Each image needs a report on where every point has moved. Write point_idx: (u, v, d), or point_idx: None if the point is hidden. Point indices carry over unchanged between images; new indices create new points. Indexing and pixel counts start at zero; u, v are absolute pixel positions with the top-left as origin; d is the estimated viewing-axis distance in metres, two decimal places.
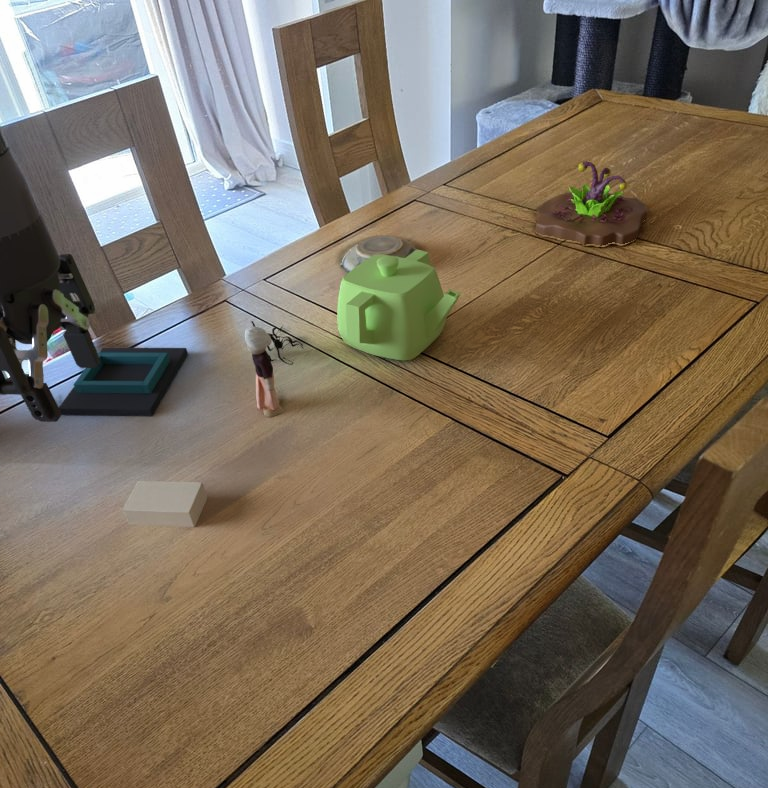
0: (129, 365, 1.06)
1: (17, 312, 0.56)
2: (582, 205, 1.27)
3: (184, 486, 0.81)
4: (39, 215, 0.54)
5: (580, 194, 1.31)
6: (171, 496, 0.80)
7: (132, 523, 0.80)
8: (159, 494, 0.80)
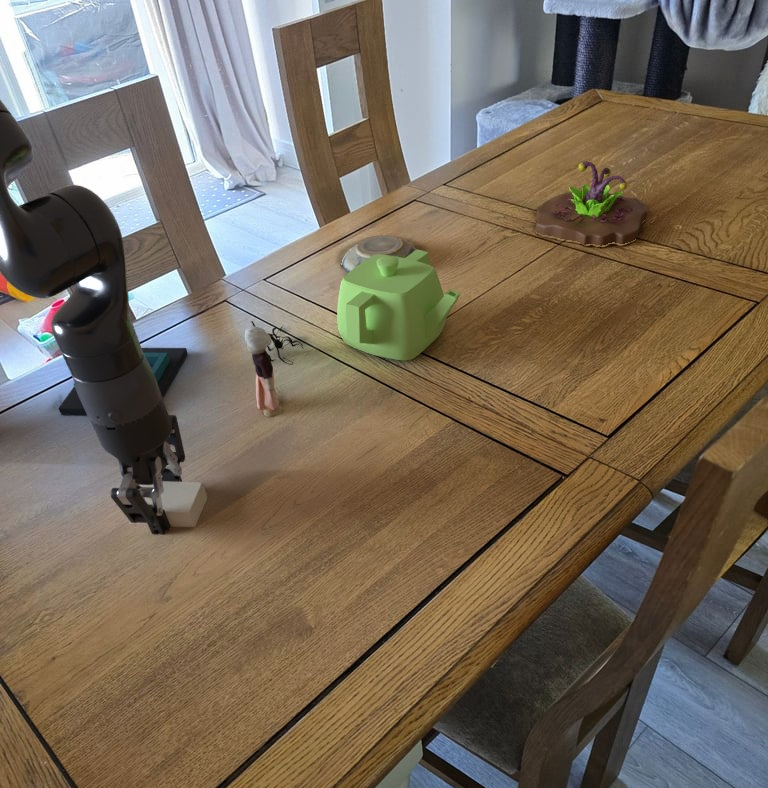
0: None
1: (141, 467, 0.73)
2: (582, 205, 1.27)
3: (184, 486, 0.81)
4: (160, 396, 0.71)
5: (580, 194, 1.31)
6: (171, 496, 0.80)
7: (132, 523, 0.80)
8: None
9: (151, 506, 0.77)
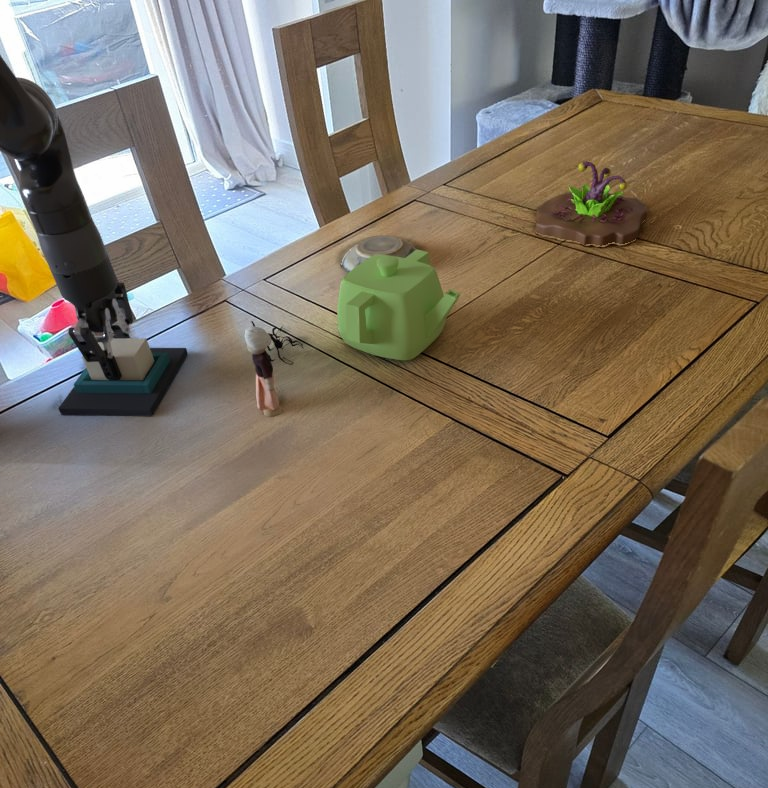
0: None
1: (93, 313, 0.93)
2: (582, 205, 1.27)
3: (132, 341, 1.01)
4: (107, 255, 0.91)
5: (580, 194, 1.31)
6: (120, 347, 1.00)
7: (90, 370, 1.01)
8: (111, 346, 1.01)
9: (103, 350, 0.97)
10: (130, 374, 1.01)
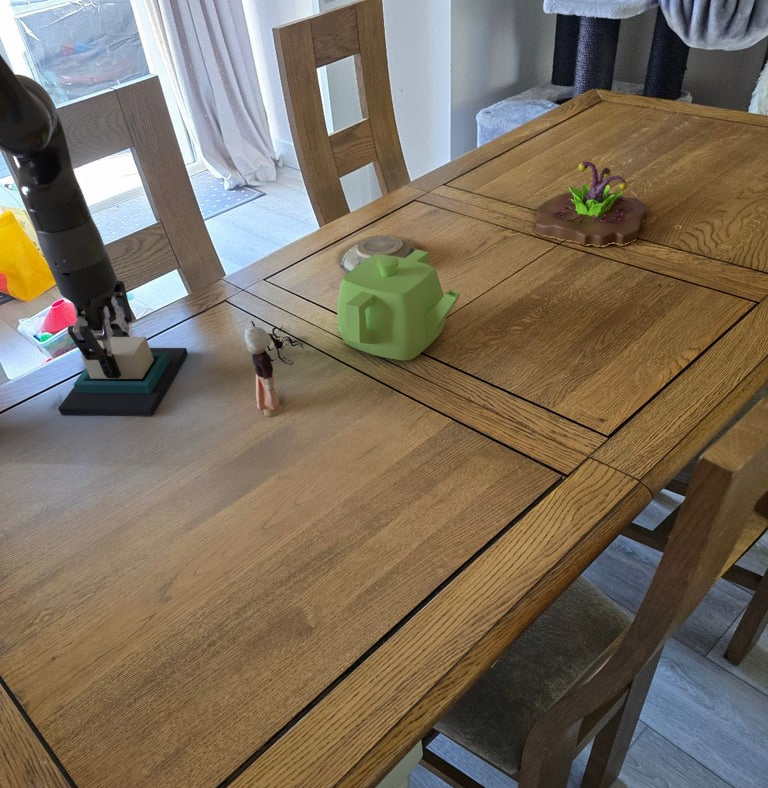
0: None
1: (92, 311, 0.93)
2: (582, 205, 1.27)
3: (131, 339, 1.01)
4: (106, 253, 0.91)
5: (580, 194, 1.31)
6: (120, 346, 1.00)
7: (89, 368, 1.01)
8: None
9: (102, 348, 0.97)
10: (130, 373, 1.00)
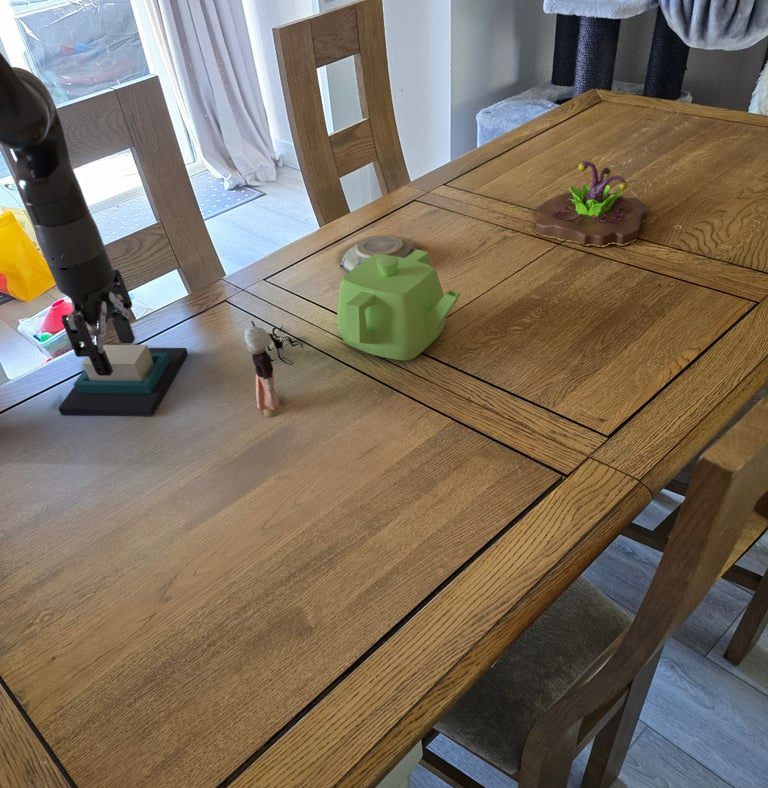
0: None
1: (89, 306, 0.92)
2: (582, 205, 1.27)
3: (132, 347, 1.02)
4: (104, 248, 0.91)
5: (580, 194, 1.31)
6: (121, 354, 1.01)
7: (91, 376, 1.01)
8: (112, 353, 1.01)
9: (93, 345, 0.95)
10: None
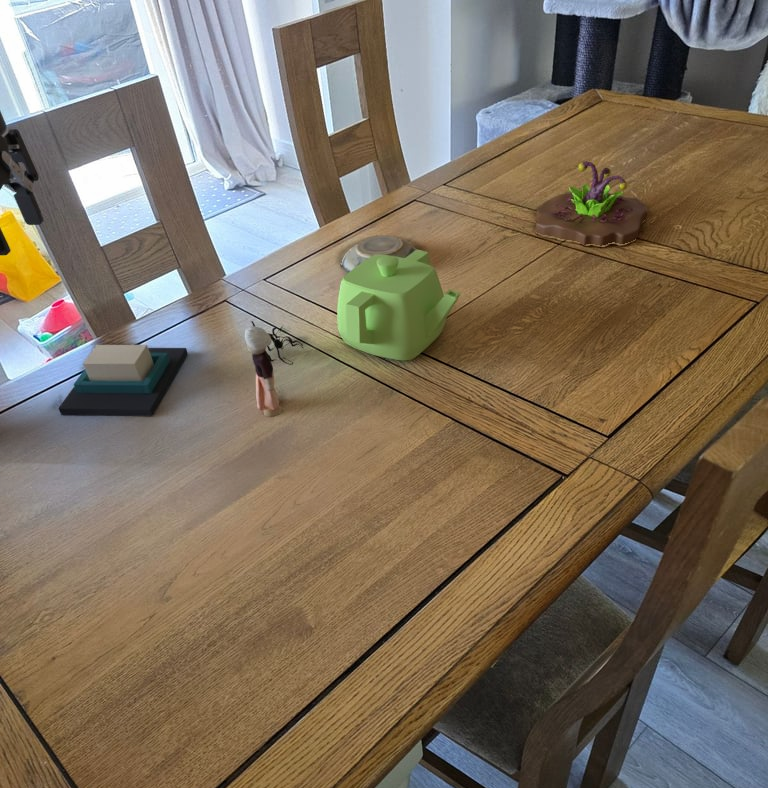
0: None
1: None
2: (582, 205, 1.27)
3: (132, 347, 1.02)
4: None
5: (580, 194, 1.31)
6: (121, 354, 1.01)
7: (91, 376, 1.01)
8: (112, 353, 1.01)
9: None
10: None
